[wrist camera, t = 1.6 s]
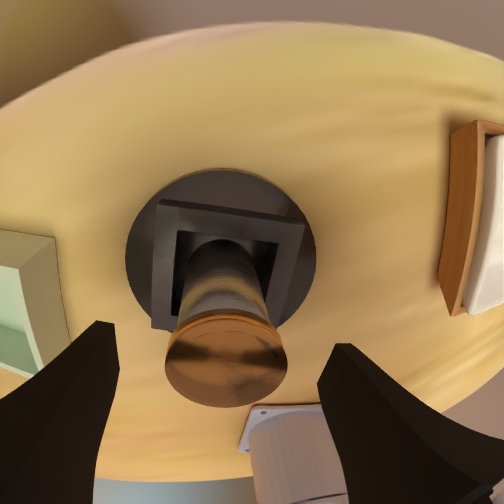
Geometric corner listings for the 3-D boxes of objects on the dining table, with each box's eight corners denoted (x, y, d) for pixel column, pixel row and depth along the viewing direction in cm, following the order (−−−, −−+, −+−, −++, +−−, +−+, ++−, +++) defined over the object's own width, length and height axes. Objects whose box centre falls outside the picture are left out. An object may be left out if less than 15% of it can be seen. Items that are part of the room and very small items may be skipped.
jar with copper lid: (264, 240, 14) (302, 329, 8) (250, 305, 16) (271, 408, 9) (187, 230, 14) (165, 317, 7) (180, 297, 15) (165, 402, 9)
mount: (330, 187, 15) (347, 197, 13) (286, 339, 18) (294, 362, 16) (136, 157, 13) (123, 161, 11) (131, 323, 17) (123, 346, 15)
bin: (55, 237, 14) (18, 269, 10) (71, 345, 17) (51, 385, 13) (-29, 224, 12) (-65, 247, 9) (-8, 321, 15) (-32, 352, 12)
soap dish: (435, 115, 14) (495, 121, 9) (511, 131, 14) (557, 142, 10) (422, 291, 19) (462, 330, 14) (495, 269, 19) (531, 295, 15)
